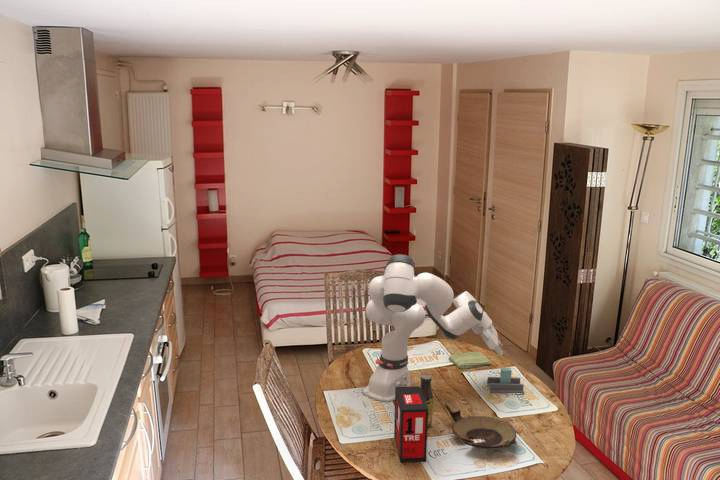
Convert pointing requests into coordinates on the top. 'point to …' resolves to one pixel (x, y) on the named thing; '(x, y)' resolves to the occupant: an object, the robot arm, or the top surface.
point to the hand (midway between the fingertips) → (501, 350)
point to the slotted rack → (504, 385)
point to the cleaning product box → (410, 424)
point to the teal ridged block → (505, 376)
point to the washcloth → (469, 360)
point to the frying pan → (482, 430)
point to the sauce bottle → (427, 396)
